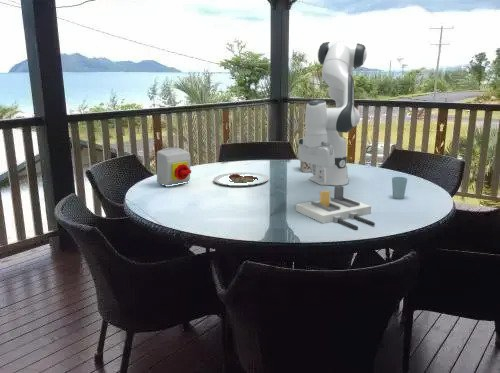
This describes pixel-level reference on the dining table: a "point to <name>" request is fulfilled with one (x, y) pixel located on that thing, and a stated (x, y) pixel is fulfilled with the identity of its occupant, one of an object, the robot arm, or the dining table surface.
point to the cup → (399, 187)
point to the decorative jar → (305, 167)
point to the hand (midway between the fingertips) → (315, 174)
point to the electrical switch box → (173, 166)
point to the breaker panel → (332, 209)
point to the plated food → (241, 178)
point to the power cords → (352, 216)
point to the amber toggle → (325, 198)
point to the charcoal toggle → (338, 192)
